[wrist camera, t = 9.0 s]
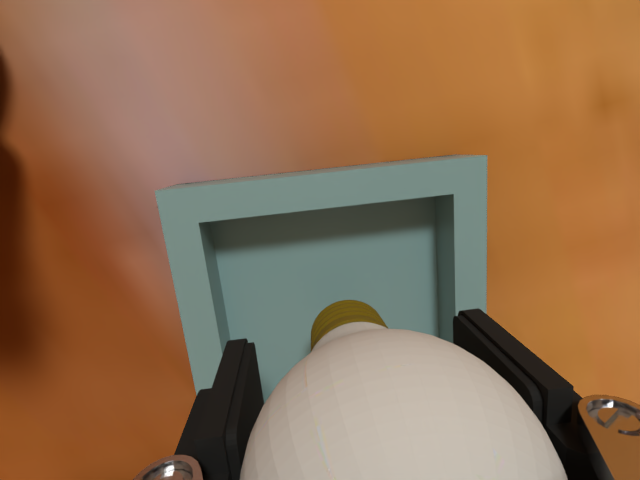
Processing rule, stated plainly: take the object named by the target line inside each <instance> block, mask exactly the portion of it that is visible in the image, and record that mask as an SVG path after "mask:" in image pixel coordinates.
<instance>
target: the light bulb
mask: <svg viewBox="0 0 640 480" xmlns="http://www.w3.org/2000/svg"><path fill="white" fill-rule="evenodd" d="M240 480H568V478H567V476H566V473H565V470H564V468H563V465H562V463H561V461H560V459H559V457H558V455H557V452H556V450H555V448H554V446H553V444H552V442H551V441H550V439H549V437H548V435H547V433H546V431H545V429H544V428H543V426H542V424H541V423H540V421H539V420H538V418H537V417H536V416H535V414H534V413H533V411H532V410H531V409H530V408H529V406H528V405H527V404H526V403H525V401H524V400H523V399H522V397H521V396H520V395H519V394H518V393H517V391H516V390H515V389H514V388H513V387H512V386H511V385H510V384H509V383H508V382H507V381H506V380H505V379H504V378H502V377H501V376H500V375H499V374H498V373H497V372H496V371H494V370H493V369H492V368H491V367H490V366H488V365H487V364H486V363H485V362H483V361H482V360H480V359H479V358H477V357H476V356H474V355H472V354H471V353H469V352H467V351H466V350H464V349H462V348H461V347H459V346H457V345H455V344H453V343H450V342H448V341H445V340H443V339H440V338H438V337H435V336H432V335H429V334H425V333H420V332H415V331H411V330H403V329H388V327H387V326H386V324H385V323H384V321H383V320H382V318H381V317H380V315H379V314H378V313H377V311H376V310H375V309H374V308H372V307H371V306H370V305H368V304H366V303H364V302H361V301H357V300H342V301H338V302H335V303H333V304H331V305H329V306H327V307H326V308H325V309H323V310H322V311H321V312H320V313H319V314H318V316H317V317H316V319H315V321H314V323H313V325H312V329H311V353H310V354H308V355H307V356H306V357H305V358H303V359H302V360H301V361H299V362H298V363H297V364H296V365H295V366H294V367H293V368H292V369H291V370H290V371H289V372H288V373H287V374H286V375H285V376H284V377H283V378H282V379H281V380H280V382H279V383H278V384H277V386H276V387H275V389H274V390H273V392H272V393H271V394H270V396H269V397H268V399H267V400H266V402H265V404H264V405H263V407H262V409H261V411H260V414H259V416H258V418H257V420H256V422H255V424H254V427H253V429H252V431H251V434H250V437H249V440H248V444H247V448H246V451H245V455H244V459H243V463H242V468H241V473H240Z"/></svg>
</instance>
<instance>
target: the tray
mask: <svg viewBox="0 0 640 480" xmlns="http://www.w3.org/2000/svg"><path fill="white" fill-rule="evenodd" d="M155 195H156V200H157V204H158V209H159V214H160V219H161V224H162V229H163V234H164V239H165V243H166V248H167V253H168V258H169V263H170V268H171V273H172V278H173V282H174V287H175V292H176V297H177V302H178V307H179V312H180V317H181V321H182V326H183V331H184V336H185V341H186V346H187V351H188V356H189V360H190V365H191V370H192V375H193V380H194V385H195V390H196V395H197V394H198V392H199V390H201V389H208V388H212V385H213V382H214V379H215V376H216V373H217V370H218V367H219V364H220V361H221V358H222V355H223V352H224V349H225V346H226V343H227V341H229V340H237V339H244V338H247V340H248V343H251V342H254V344H255V348H256V355H257V361H258V367H259V374H260V380H261V387H262V393H263V399H264V404H265V402H266V400H267V399H268V397H269V396H270V394H271V393H272V392H273V390H274V389H275V387H276V386H277V384H278V383H279V382H280V380H281V379H282V378H283V377H284V376H285V375H286V374H287V373H288V372H289V371H290V370H291V369H292V368H293V367H294V366H295V365H296V364H297V363H298V362H299V361H301V360H302V359H303V358H305V357H306V356H307V355H308V354H310V353H311V329H312V325H313V323H314V321H315V319H316V317H317V316H318V314H319V313H320V312H321V311H322V310H323V309H325V308H326V307H327V306H329V305H331V304H333V303H335V302H338V301H342V300H357V301H361V302H364V303H366V304H368V305H370V306H371V307H372V308H374V309H375V310H376V311H377V313H378V314H379V315H380V317H381V318H382V320H383V321H384V323H385V324H386V326H387V327H388V329H403V330H411V331H415V332H420V333H425V334H429V335H432V336H435V337H438V338H440V339H443V340H445V341H448V342H450V343H453V317H454V316H458V313H459V311H462V310H469V309H477V308H479V309H481V310H482V311H483V312H484V313H485V314H486V282H487V155H448V156H438V157H429V158H420V159H410V160H401V161H391V162H382V163H373V164H363V165H354V166H345V167H335V168H326V169H316V170H307V171H298V172H288V173H279V174H270V175H260V176H251V177H242V178H232V179H223V180H213V181H204V182H195V183H185V184H177V185H173V186H170V187H166V188H163V189H160V190H156V191H155Z"/></svg>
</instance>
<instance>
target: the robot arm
mask: <svg viewBox="0 0 640 480" xmlns="http://www.w3.org/2000/svg"><path fill="white" fill-rule="evenodd" d="M453 344H455V345H457V346H459V347H461V348H462V349H464V350H466V351H467V352H469V353H471V354H472V355H474V356H476V357H477V358H479V359H480V360H482V361H483V362H485V363H486V364H487V365H488V366H490V367H491V368H492V369H493V370H494V371H496V372H497V373H498V374H499V375H500V376H501V377H502V378H504V379H505V380H506V381H507V382H508V383H509V384H510V385H511V386H512V387H513V388H514V389H515V390H516V391H517V393H518V394H519V395H520V396H521V397H522V399H523V400H524V401H525V403H526V404H527V405H528V406H529V408H530V409H531V410H532V411H533V413H534V414H535V416H536V417H537V418H538V420H539V421H540V423H541V424H542V426H543V428H544V429H545V431H546V433H547V435H548V437H549V439H550V441H551V442H552V444H553V446H554V448H555V450H556V452H557V455H558V457H559V459H560V461H561V463H562V465H563V468H564V470H565V473H566V476H567V478H568V480H640V405H638V404H636V403H634V402H632V401H629V400H626V399H623V398H619V397H615V396H609V395H591V396H587V397H584V398H582V397H581V396H579V395H578V394H577V393H576V392H575V391H573V386H572V385H571V384H570V383H569V382H568V381H566V380H565V379H564V378H563V377H561V376H560V375H559V374H558V373H557V372H555V371H554V370H553V369H552V368H551V367H549V366H548V365H547V364H546V363H545V362H543V361H542V360H541V359H540V358H539V357H537V356H536V355H535V354H534V353H533V352H531V351H530V350H529V349H528V348H526V347H525V346H524V345H523V344H522V343H520V342H519V341H518V340H517V339H516V338H514V337H513V336H512V335H511V334H510V333H508V332H507V331H506V330H505V329H504V328H502V327H501V326H500V325H499V324H498V323H496V322H495V321H494V320H493V319H492V318H490V317H489V316H488V315H487V314H485V313H484V312H483V311H482V310H481V309H479V308H477V309H469V310H462V311H459V313H458V316H454V317H453ZM263 405H264V399H263V393H262V387H261V380H260V374H259V367H258V361H257V355H256V348H255V344H254V342H251V343H248V340H247V338H244V339H237V340H229V341H227V343H226V346H225V349H224V352H223V355H222V358H221V361H220V364H219V367H218V370H217V373H216V376H215V379H214V382H213V385H212V388H208V389H201V390H199V392H198V394H197V396H196V399H195V402H194V404H193V407H192V409H191V412H190V415H189V417H188V420H187V423H186V425H185V428H184V430H183V433H182V436H181V438H180V441H179V443H178V446H177V449H176V451H175V454H174V455H172V456H169V457H165V458H162V459H160V460H158V461H156V462H154V463H152V464H150V465H149V466H147V467H146V468H145V469H143V470H142V471H141V472H140V473H139V474H138V475H137V476H136V477H135V478H134V479H133V480H240V473H241V468H242V463H243V459H244V455H245V451H246V448H247V444H248V440H249V437H250V434H251V431H252V429H253V427H254V424H255V422H256V420H257V418H258V416H259V414H260V411H261V409H262V407H263Z"/></svg>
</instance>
